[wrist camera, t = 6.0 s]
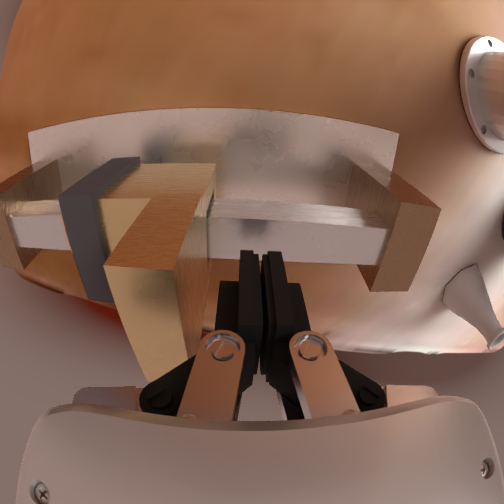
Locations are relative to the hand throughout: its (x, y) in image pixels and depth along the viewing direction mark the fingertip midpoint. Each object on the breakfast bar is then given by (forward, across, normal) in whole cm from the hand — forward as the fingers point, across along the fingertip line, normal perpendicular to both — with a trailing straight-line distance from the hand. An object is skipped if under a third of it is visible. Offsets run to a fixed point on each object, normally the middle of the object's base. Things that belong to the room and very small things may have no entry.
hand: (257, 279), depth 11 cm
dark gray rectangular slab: (+7, +8, 0) cm, 11 cm away
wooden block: (+7, +5, 0) cm, 9 cm away
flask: (+11, -28, +10) cm, 32 cm away
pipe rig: (+11, +5, 0) cm, 12 cm away
